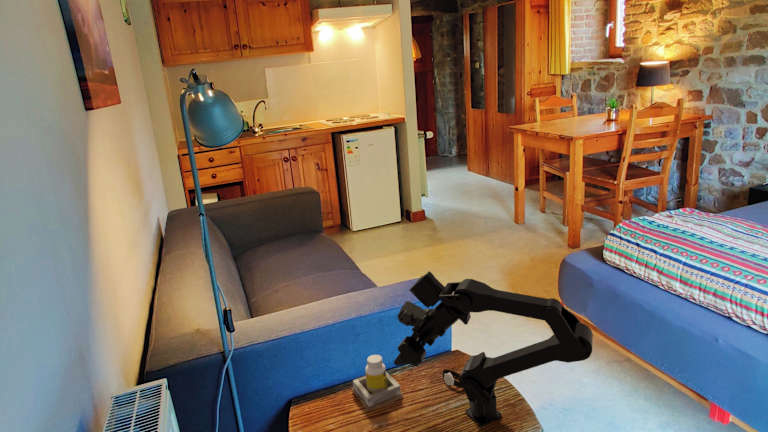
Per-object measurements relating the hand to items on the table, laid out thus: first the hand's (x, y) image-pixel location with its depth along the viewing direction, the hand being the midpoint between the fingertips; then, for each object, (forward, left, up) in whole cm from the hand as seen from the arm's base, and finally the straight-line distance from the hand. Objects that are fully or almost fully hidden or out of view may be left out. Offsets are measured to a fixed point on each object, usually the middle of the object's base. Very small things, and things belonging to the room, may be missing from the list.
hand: (401, 353), depth 125 cm
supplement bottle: (+6, +5, -13) cm, 15 cm away
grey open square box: (+6, +5, -14) cm, 16 cm away
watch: (-1, -15, -14) cm, 20 cm away
